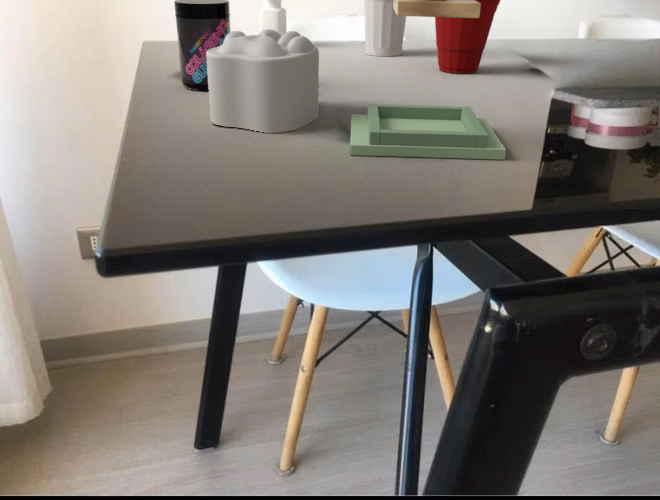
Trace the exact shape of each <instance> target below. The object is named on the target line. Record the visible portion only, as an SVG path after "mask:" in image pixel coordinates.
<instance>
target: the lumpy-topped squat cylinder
mask: <svg viewBox="0 0 660 500" xmlns="http://www.w3.org/2000/svg"><path fill="white" fill-rule="evenodd" d="M286 32H287V33H285V34H284V35H282V36H281V35H280V34H279V33H278V32H276V31H274V30H271V29H267V30H263V31H262V32H260V31H259V33H258V34H250V35H246V34H245V32H243V31H240V30H233V31H231V32H230V33H229V34H227V36H226V37H225V39H224V42H223V44H222V45H221V46H218V47H215V48H212V49H210V50H208V51H207V52H206V58H207V74H208V89H209V91H208V103H209V118H210V123H211V122H213V123H215V124H217V125H222V126H229V127H239V128H245V129H250V130H249V131H251V130H254V131H253V132H256V131H259V132H258V133H262V132H264V134H280V133H288V132H291V131H295V130H298V129H300V128H302V127H304V126H306V125H308V124H311V123H312V122H314V120H316V119H317V118H318V117H319V92H320V91H319V87H320V86H319V85H320V83H319V81H320V80H319V79H320V77H319V76H320V75H319V73H320V72H319V71H320V51H319V48H318V47H317V46H316V45H315V44H314V43H313V42H312V41H311V39H309V38H308V37H306V36H304V35H301V33H299V32H298V31H296V30H289V31H286ZM245 129H244V130H245Z"/></svg>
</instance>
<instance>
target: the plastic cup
mask: <svg viewBox="0 0 660 500" xmlns="http://www.w3.org/2000/svg"><path fill="white" fill-rule="evenodd" d="M475 1H477V2H479V3H481V8H480V16H479V18H454V17H434V25H435V26H434V27H435V39H436V40H435V42H436V43H435V44H436V48H437V49H436V50H437V65H438V69H439V71H441V72H444V73H449V74H463V75H464V74H474V73H476V72H478V70H479V69H478V68H479V67H480V64H481V60H482V56H483V53H484V51H485V50H484V49H486V45H487V41H488V39H489V35H490V31H491V28H492V24H493V21H494V17H495V15H496V12H497V10H498V7H499V5H500V2H501V0H475Z"/></svg>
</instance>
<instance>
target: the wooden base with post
mask: <svg viewBox="0 0 660 500" xmlns="http://www.w3.org/2000/svg"><path fill="white" fill-rule="evenodd" d="M393 8H394V10H395V12H396V14H397V16H406V17H418V18H420V17H421V18H422V17H423V18H424V17H425V18H435V17H454V18H479V16H480V8H481V3H479V2H477V1H475V0H393Z"/></svg>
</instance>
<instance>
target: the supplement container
mask: <svg viewBox="0 0 660 500" xmlns="http://www.w3.org/2000/svg"><path fill="white" fill-rule="evenodd" d="M173 3H174V12H175V13H174V16H175V21H176V22H175V24H176V37H177V44H178V45H177V48H178V58H179V59H178V60H179V69H180V70H179V71H180V80H181V84H182V86H183V87H184V88H185V87H187V88H191V89H197V90H209V89H208V74H207V58H206V52H207V51H208V50H210V49H212V48H215V47H218V46H221V45H222V44H223V42H224V39H225V37H226V36H227V34H229V33H230V32H232V31H231V9H230V7H231V6H230V0H174V1H173ZM187 88H186V89H187Z"/></svg>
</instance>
